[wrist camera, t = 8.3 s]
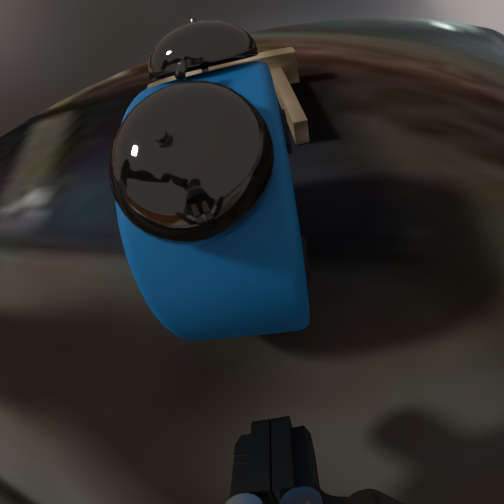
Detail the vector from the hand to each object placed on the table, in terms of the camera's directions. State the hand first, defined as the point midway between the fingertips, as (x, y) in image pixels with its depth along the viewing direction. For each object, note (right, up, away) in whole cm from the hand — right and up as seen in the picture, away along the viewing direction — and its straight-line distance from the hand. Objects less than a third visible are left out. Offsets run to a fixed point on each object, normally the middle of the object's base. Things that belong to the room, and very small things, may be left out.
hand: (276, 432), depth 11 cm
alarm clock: (0, +6, +10) cm, 12 cm away
